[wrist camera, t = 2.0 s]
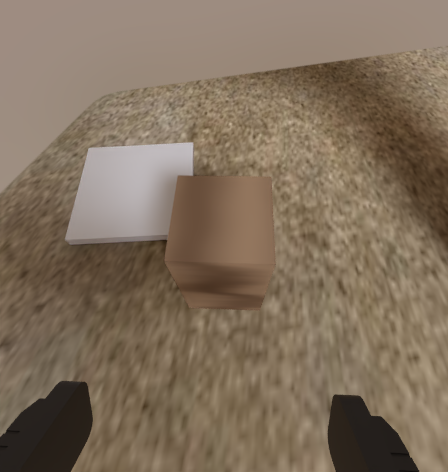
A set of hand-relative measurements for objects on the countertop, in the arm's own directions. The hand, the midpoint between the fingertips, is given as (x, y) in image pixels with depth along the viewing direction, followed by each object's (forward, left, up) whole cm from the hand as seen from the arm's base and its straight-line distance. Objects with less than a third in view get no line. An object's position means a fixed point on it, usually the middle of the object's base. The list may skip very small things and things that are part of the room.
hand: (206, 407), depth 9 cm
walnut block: (-1, -9, -13) cm, 16 cm away
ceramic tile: (+8, -19, -13) cm, 25 cm away
